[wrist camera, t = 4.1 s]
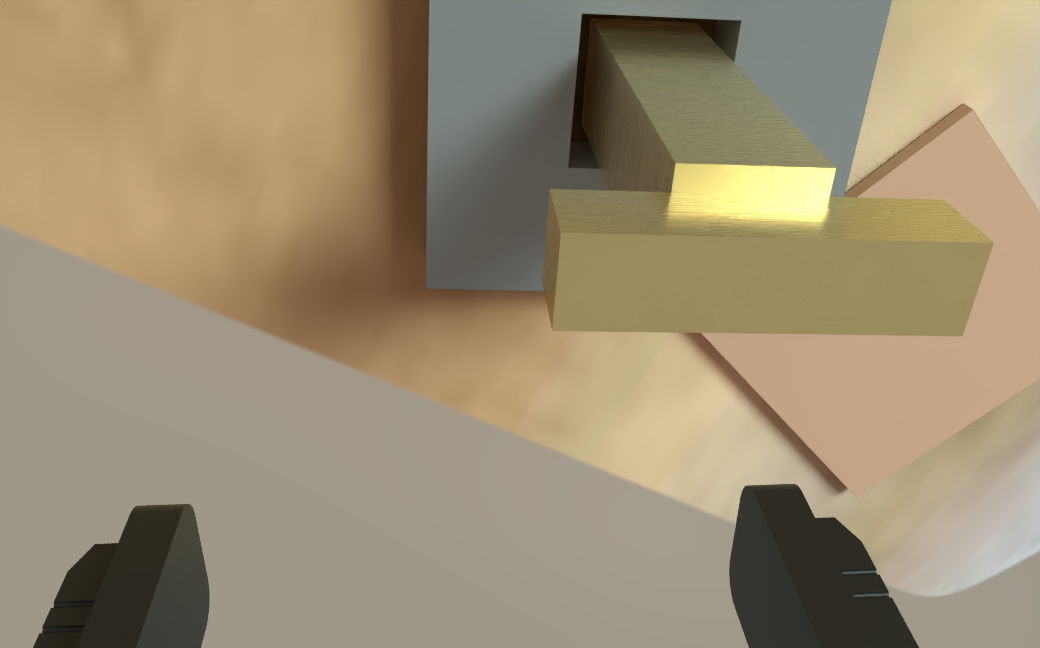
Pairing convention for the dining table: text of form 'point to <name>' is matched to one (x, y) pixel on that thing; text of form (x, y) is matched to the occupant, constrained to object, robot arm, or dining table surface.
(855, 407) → the tile
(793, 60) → the cover plate
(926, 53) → the dining table surface
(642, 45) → the t key
